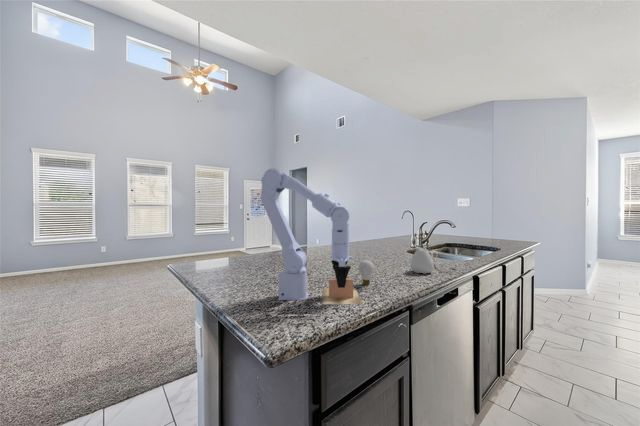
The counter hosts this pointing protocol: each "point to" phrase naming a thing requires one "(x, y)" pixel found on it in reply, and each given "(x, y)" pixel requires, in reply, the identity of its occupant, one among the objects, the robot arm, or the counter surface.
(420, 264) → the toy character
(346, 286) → the tile
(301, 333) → the counter surface
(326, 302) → the mat
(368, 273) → the light bulb
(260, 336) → the counter surface
